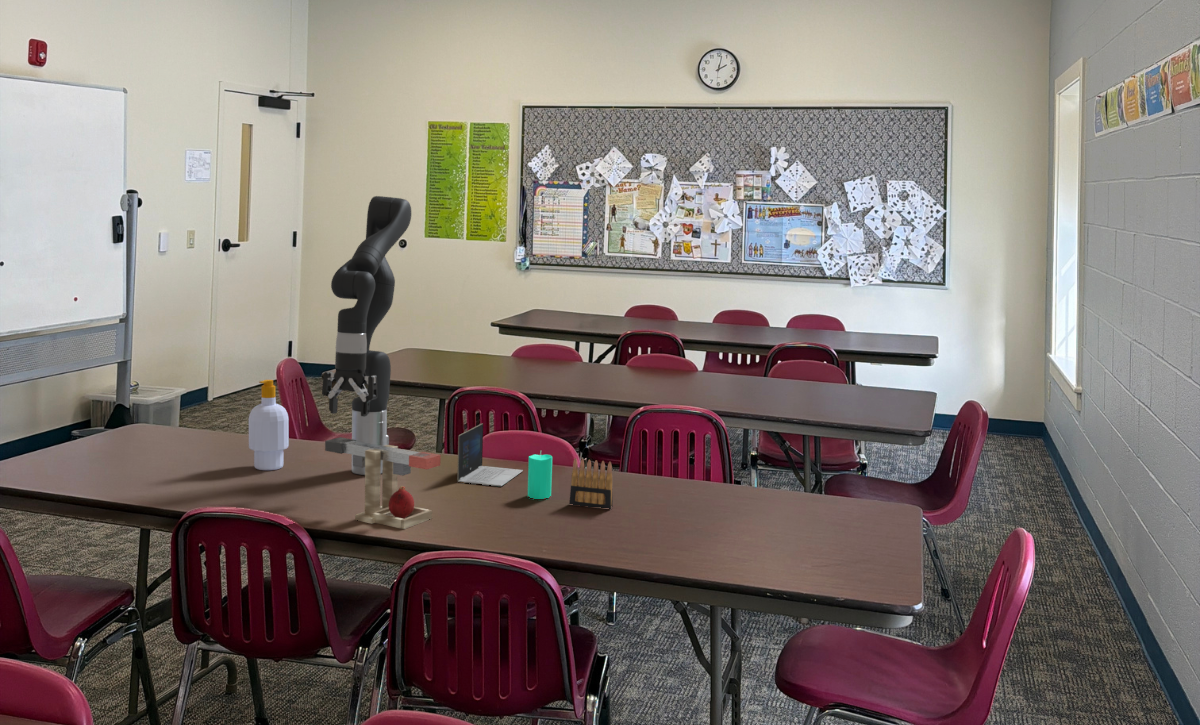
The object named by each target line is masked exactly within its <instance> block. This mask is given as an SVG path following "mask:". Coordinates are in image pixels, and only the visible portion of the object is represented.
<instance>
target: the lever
mask: <svg viewBox="0 0 1200 725" xmlns="http://www.w3.org/2000/svg"><path fill="white" fill-rule="evenodd" d="M370 449H372V450H378V451H381V460H384V461H390V462H393V474H397V476H402V477H403V476H406V475H409V474H411V473H412V472H411V470H412V468H417V469H422V470H429V469H433V468H436V467H440V466H441V459H442V457H441V456H442V455H441V454H437V453H432V452H425V451H421V452H419V451H414V450H407V449H403V448H402V449H401V448H399V447H398V448H392V447H386V446H381V445H375V444H369V443H364V442H358V441H356V440H353V439H352V438H347V437H346V438H345V437H336V438H332V439H327V440H325V442H324V450H325V452H331V453H334V454H335V453H336V454H341V455H342V454H348V455H351V456H352V455H353V466H355V467H360V468H364V467H365V451H366V450H370ZM411 467H412V468H411Z"/></svg>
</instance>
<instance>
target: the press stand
mask: <svg viewBox="0 0 1200 725" xmlns="http://www.w3.org/2000/svg"><path fill="white" fill-rule="evenodd" d="M385 446H386V447H392V448H398V449H399V446H398V445H391V444H389V445H385ZM380 471H381V451H378V450H372V449H370V450H366V451H365V475H364V511H363V512H360V513H357V514H355V515H354V520H355V521H357V520H358V521H357V522H363V523H366V524H367V523H368V524H370V525H371V524H379V525H384V526H389V527H393V528H396V529H402V530H406V529H409V528H412V527H414V526H416V525H419V524H422V523H425V522H427V521H430V520H432V519H433V510H431V509H428V508H427V509H426V508H423V507H417V506H414V509H413V511H412V513H411V514H410V515H409V516H407V517H406V518H405V519H403V518H398V517H395V516H393V514H392V513H391V512H390V510H389V500H390V498H391V496H392V495H393V494H394V493H395V492H396V491H398V475H397V474H393V462H390V461H384V460H383V468H382V473H381V474H382V476H381V474H380ZM381 478H382V482H381ZM381 483H382V484H381ZM381 486H382V487H381ZM381 492H382V493H381ZM381 495H382V496H381ZM429 519H430V520H429Z"/></svg>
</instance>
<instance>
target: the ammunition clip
mask: <svg viewBox="0 0 1200 725" xmlns="http://www.w3.org/2000/svg"><path fill="white" fill-rule="evenodd" d="M586 463H587V464H586V469H585V461H584V459H583V458H581V460H580V465H578V459H577V458H576V457H575V458H574V459H573V464H572V471H571V472H572V473H571V479H570V480H571V483H570V489H569V491H570V492H569V504H573V505H580V506H579V507H581V506H588V507H587V508H590V507H601V508H609V509H611V506H612V507H614V505H613V466H612V462H611V461H609V462H608V464H607V468H606V464H605V461H604V460H602V461H601V463H600V468H599V464H598V460H595V461H594V463H593V471H592V462H591V459H588V461H587V462H586ZM578 466H579V468H578ZM599 469H600V470H599ZM578 470H579V472H578ZM585 470H586V471H585ZM599 471H600V472H599ZM585 472H586V474H585ZM569 504H568V505H569ZM611 510H612V509H611Z"/></svg>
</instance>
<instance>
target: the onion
mask: <svg viewBox="0 0 1200 725" xmlns="http://www.w3.org/2000/svg"><path fill="white" fill-rule="evenodd" d="M414 507H415V500H414V497H413V495H412V494H411V493H410V492H409V491H407V490H406V487H405V486H404V485H401V486H400V487H399V488H398V489H397V491H396V492H395V493H394V494H393V495H392V496H391V498H390V500H389V510H390V512H391V513H392V514H393V517H398V518H403V519H405V518H407V517H409V516H410V514H411V513H412V511H413V509H414Z"/></svg>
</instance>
